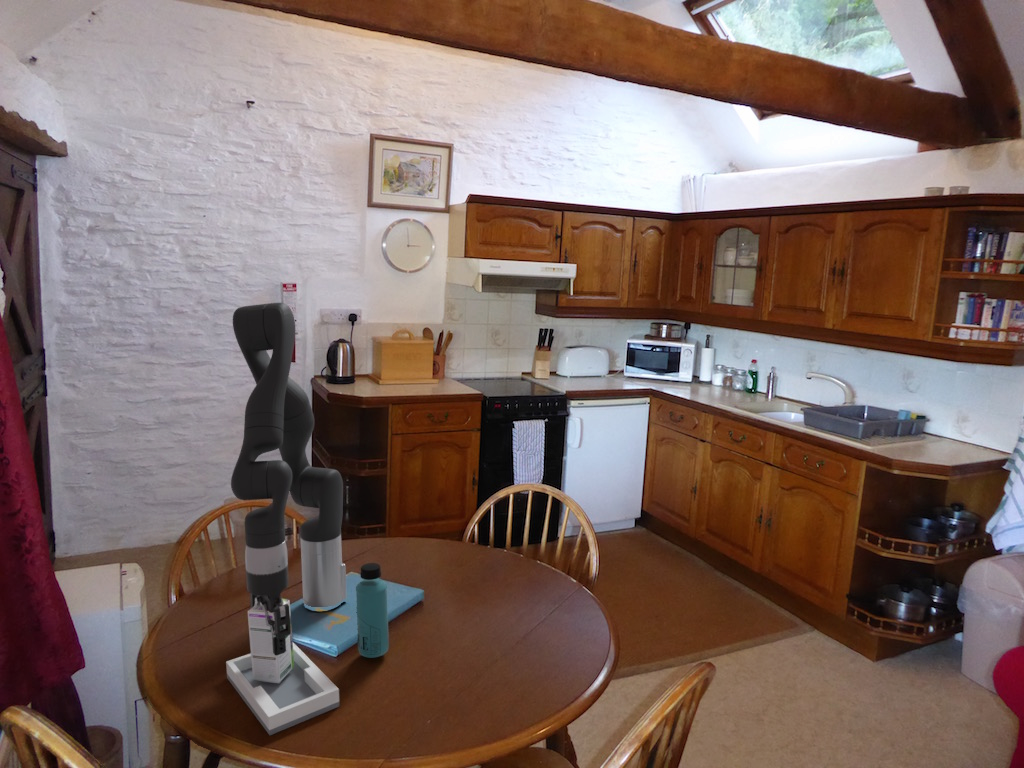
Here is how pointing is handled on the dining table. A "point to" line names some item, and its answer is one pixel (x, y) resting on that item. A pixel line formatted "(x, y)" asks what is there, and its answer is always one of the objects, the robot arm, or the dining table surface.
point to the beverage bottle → (372, 612)
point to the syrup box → (268, 648)
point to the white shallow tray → (284, 692)
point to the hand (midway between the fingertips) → (271, 644)
